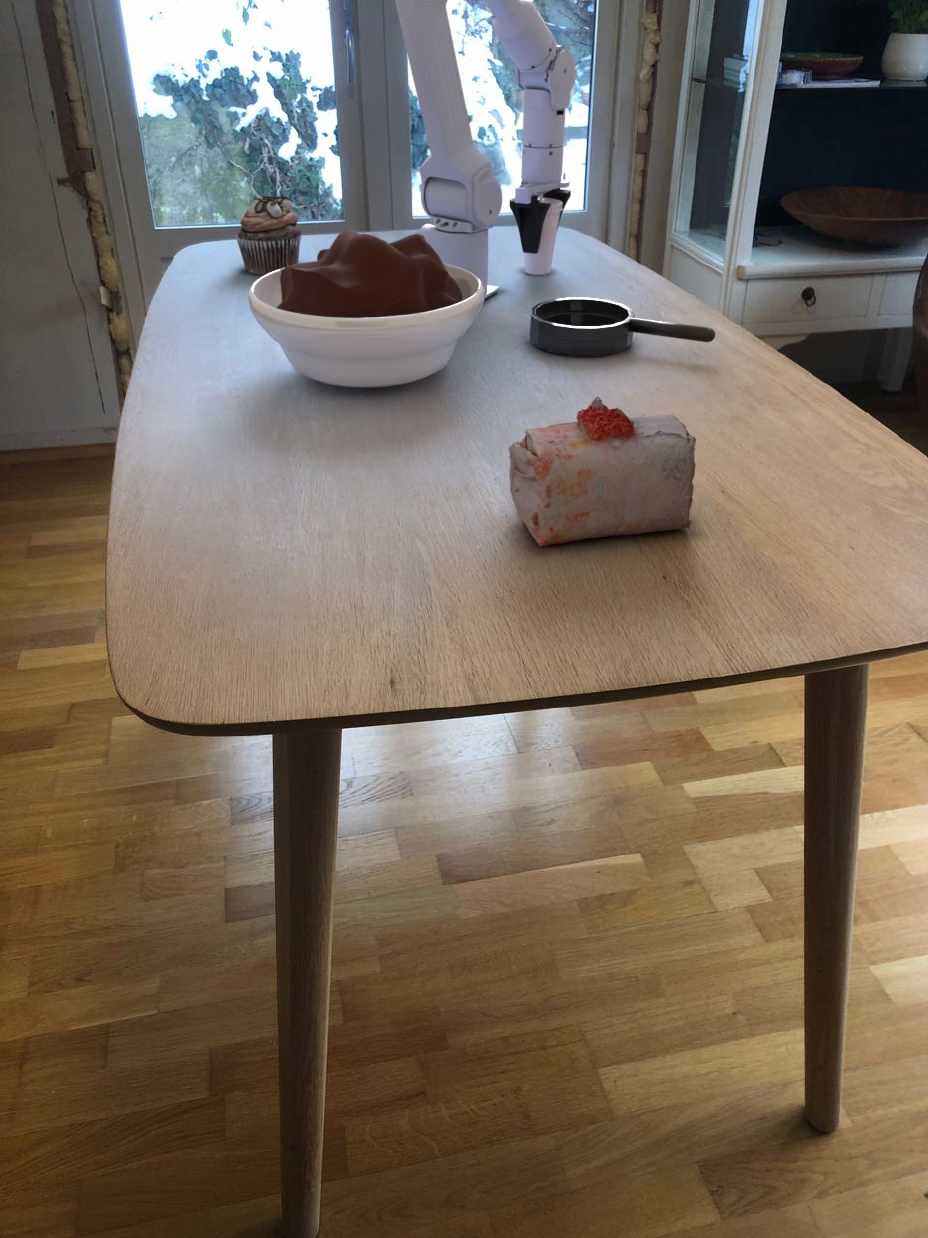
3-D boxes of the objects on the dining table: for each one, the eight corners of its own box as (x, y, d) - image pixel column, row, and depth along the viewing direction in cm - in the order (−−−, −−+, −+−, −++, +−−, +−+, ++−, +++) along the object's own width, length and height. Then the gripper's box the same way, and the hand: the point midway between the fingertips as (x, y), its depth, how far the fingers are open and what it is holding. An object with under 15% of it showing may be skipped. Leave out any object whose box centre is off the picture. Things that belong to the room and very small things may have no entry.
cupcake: (251, 258, 148) (243, 189, 142) (312, 261, 147) (306, 191, 141) (230, 275, 140) (220, 202, 135) (294, 277, 139) (287, 203, 133)
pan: (514, 349, 113) (515, 319, 111) (550, 320, 122) (552, 292, 120) (613, 364, 108) (616, 333, 106) (643, 333, 117) (646, 304, 116)
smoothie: (559, 266, 144) (565, 165, 136) (558, 277, 139) (564, 172, 131) (517, 265, 145) (520, 164, 137) (515, 276, 139) (518, 172, 132)
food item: (528, 557, 73) (533, 436, 67) (503, 509, 79) (505, 395, 74) (695, 538, 75) (714, 420, 69) (657, 493, 81) (671, 382, 76)
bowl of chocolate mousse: (212, 374, 106) (190, 230, 97) (377, 323, 121) (371, 195, 112) (363, 435, 92) (353, 273, 83) (529, 370, 107) (535, 227, 98)
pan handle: (622, 332, 111) (623, 318, 111) (626, 328, 113) (627, 315, 112) (712, 344, 108) (714, 330, 107) (715, 340, 109) (717, 326, 108)
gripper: (551, 154, 125) (546, 261, 133) (587, 139, 136) (580, 239, 144) (502, 150, 128) (499, 256, 135) (541, 136, 139) (537, 235, 146)
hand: (538, 247), depth 140 cm, fingers closed on smoothie, 6 cm apart
